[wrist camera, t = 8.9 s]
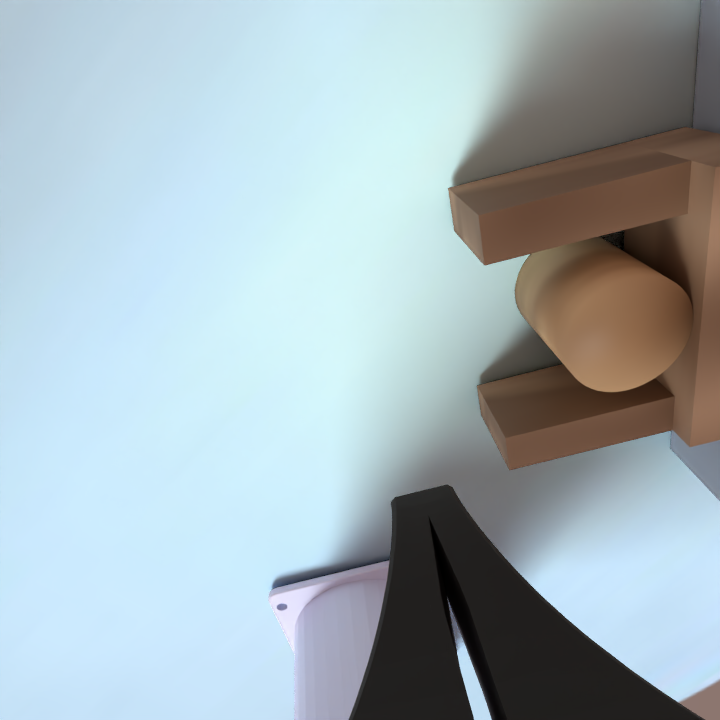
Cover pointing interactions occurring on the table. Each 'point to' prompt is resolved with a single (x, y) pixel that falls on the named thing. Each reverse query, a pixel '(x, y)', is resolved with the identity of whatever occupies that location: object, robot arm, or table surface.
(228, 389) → the table surface
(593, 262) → the oak dowel
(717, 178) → the walnut cradle
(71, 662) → the table surface
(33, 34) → the table surface
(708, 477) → the wall
